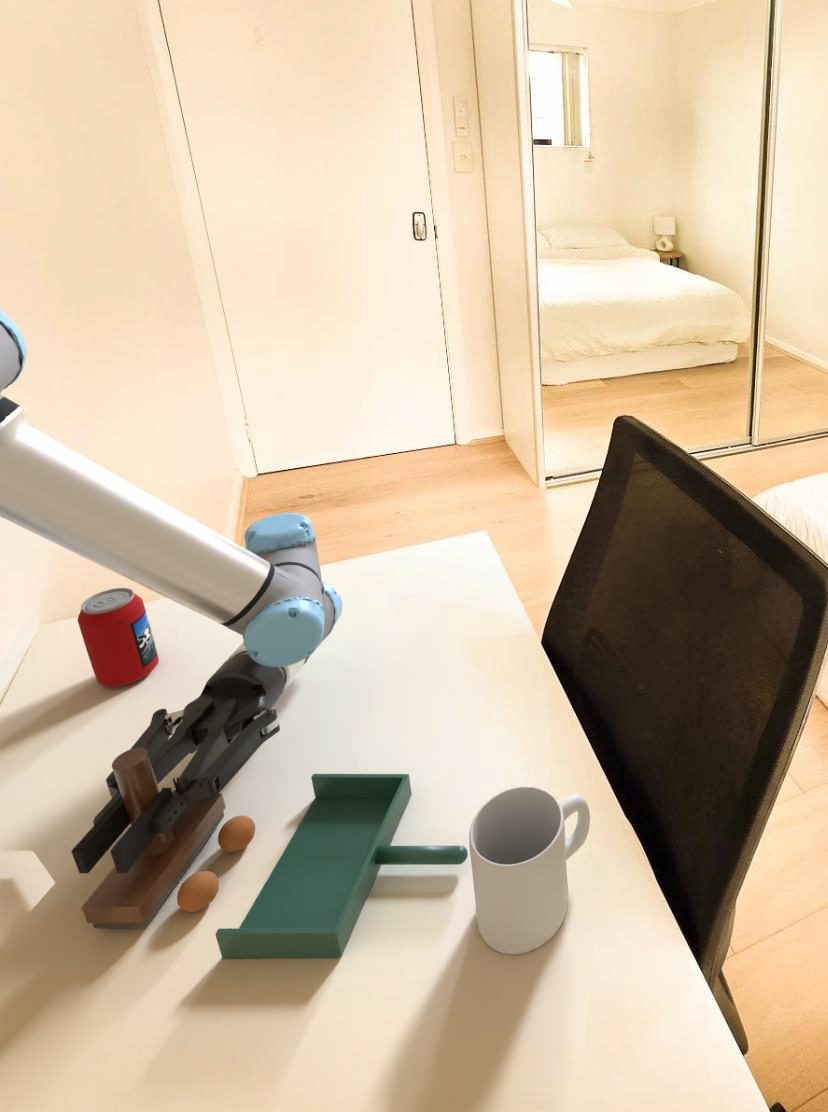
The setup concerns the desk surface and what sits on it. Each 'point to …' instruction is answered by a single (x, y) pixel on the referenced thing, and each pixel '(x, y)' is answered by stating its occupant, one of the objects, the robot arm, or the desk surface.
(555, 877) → the mug
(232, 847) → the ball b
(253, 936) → the dustpan
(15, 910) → the desk surface
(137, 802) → the brush
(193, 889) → the brown egg
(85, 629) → the beverage can
